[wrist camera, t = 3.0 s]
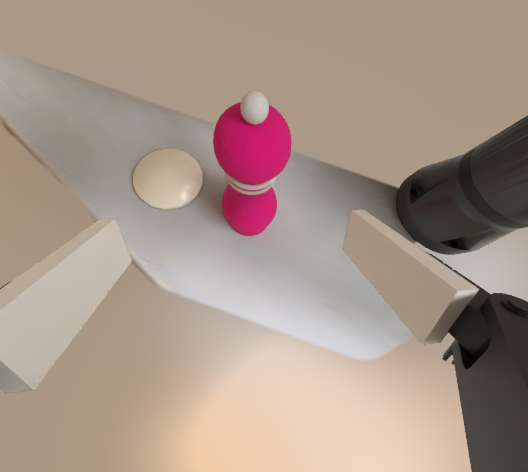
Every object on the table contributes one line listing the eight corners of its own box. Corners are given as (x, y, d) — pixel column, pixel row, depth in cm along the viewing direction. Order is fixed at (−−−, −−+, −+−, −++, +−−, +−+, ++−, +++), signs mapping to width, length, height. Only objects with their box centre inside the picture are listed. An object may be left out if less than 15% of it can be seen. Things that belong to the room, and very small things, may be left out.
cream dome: (213, 192, 31) (212, 189, 30) (151, 220, 29) (148, 218, 28) (187, 143, 33) (185, 139, 32) (126, 167, 31) (122, 163, 30)
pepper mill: (231, 244, 29) (206, 159, 10) (220, 200, 31) (180, 56, 12) (278, 232, 31) (333, 135, 11) (264, 190, 32) (293, 44, 13)
